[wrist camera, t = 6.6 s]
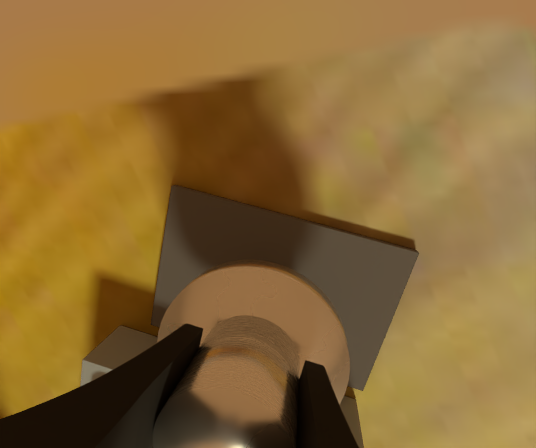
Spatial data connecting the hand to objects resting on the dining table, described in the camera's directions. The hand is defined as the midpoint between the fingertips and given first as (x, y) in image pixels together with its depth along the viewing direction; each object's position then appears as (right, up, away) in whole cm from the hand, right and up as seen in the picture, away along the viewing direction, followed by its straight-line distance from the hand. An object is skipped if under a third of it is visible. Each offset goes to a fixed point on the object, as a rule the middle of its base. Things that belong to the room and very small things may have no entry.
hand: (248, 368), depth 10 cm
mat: (+1, +1, +6) cm, 6 cm away
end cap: (0, +1, +4) cm, 4 cm away
